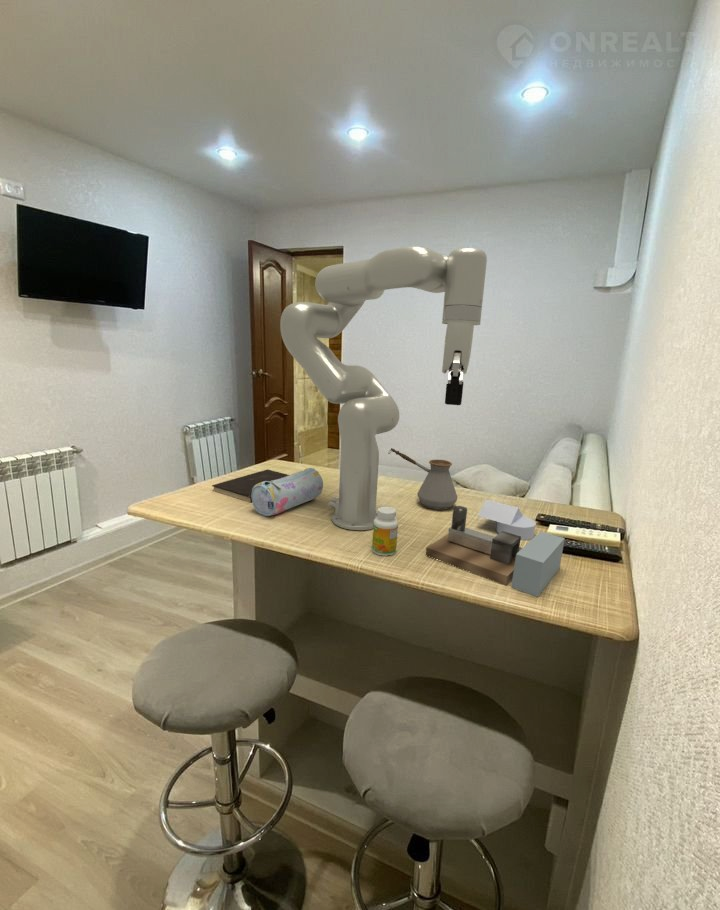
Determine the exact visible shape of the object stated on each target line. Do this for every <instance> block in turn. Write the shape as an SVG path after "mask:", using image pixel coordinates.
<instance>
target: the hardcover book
mask: <svg viewBox="0 0 720 910" xmlns="http://www.w3.org/2000/svg"><path fill="white" fill-rule="evenodd" d="M289 475H290V474H287V473H283V472H279V471H275V470H271V469H264V470H261V471H257V472H254V473H253V472H252V473H251V474H250V473H249V474H247V475H243V476H239V477H236V478H233V479H228V480H225V481H223V482H219V483H215V484H212V485H211V487H213V491H214V492H216V493H219V494H223V495H225V496H229V497H232V498H235V499H238V500H241V501H244V502H247V503H250V504H251V503H252V489H253V487H254V486H255V485H256V484H258V483H261V482H264V481H273V480H276V479H280V478H283V477H286V476H289ZM252 504H253V503H252Z"/></svg>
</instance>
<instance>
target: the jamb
mask: <svg viewBox="0 0 720 910" xmlns="http://www.w3.org/2000/svg"><path fill="white" fill-rule="evenodd" d="M565 539H566V538H565V537H562V536H559V535H555V534H551V533H547V532H544V531H539V532H538V533H537V534H536V535H534V537H533V538H532V539H530V540H529V541H528V543H526V544H525V546H523V547H521V548H522V549H521V550H520V551H519V552H518V553H517V554H516V558H515V565H514V572H513V579H512V580H511V585H510V586H511V588H512V589H515V590H517V591H520V592H523V593H525V594H528V595H531V596H533V597H537V598H538V597H540V595H541V593H542V592H543V591H544V589H546V588H547V586H548V584H549V583H550V582H551V580H552V579H553V578H554V576H556V573H558V571H559V570H560V569H561V568H560V567H561V562H562V557H563V550H564V545H565Z"/></svg>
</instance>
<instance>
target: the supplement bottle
mask: <svg viewBox="0 0 720 910" xmlns="http://www.w3.org/2000/svg"><path fill="white" fill-rule="evenodd" d="M376 513H377V516H378V517H376V518H375V519H374V524H373V529H372V539H371V541H372V542H371V543H372V544H371V550H372V552H373V553H374V554H375V555H378V556H381V555H382V557H389V556H388V555H390V556H392V555H395V554H396V552H397V546H398V545H397V543H398V532H399V531H398V529H399V521H398V520H397V518H396V516H397V509H395V508H394V507H390V506H381V507H378V509H377V510H376Z"/></svg>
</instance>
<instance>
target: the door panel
mask: <svg viewBox="0 0 720 910" xmlns="http://www.w3.org/2000/svg"><path fill="white" fill-rule="evenodd" d="M521 541H522V540H521V536H518V535H514V534H511V533H507V532H504V531H502V532H501V533H498V534H496V536H495V537H494V538H493V539H492V547H491V554H487V553H484V552H481V551H478V550H475V549H472V548H469V547H466V546H463V545H460V544H457V543H454V542H451V541H448V533H447V534H445V535H444V536H441V537H440V538H439V539H437V540H436V541H434V542H433V543H431V544H430V545H428V546H427V547H426V549H425V556H426V555H427V556H426V557H428V556H430V557H433V558H435V559H434V560H436V559H438V560H441V561H443V562H442V563H444V562H445V563H444V564H447V563H448V564H447V565H449V564H451V565H450V566H452V565H454V566H453V567H455V566H456V567H455V568H457V567H459V568H458V569H460V568H461V569H460V570H463V569H464V570H463V571H466V570H467V571H466V572H468V571H470V572H469V573H471V572H472V574H474V573H475V574H474V575H476V574H478V575H477V576H479V575H480V577H482V576H483V578H485V579H487V578H489V579H488V580H490V579H491V580H490V581H493V580H494V581H493V582H495V581H496V582H495V583H498V584H501V585H503V586H507V585H508V584H510V582H512V579H513V572H514V565H515V558H516V554H517V553H518V552H519V551H520V550H521V549H522V548H523V547H520V546H521ZM430 557H429V558H430ZM433 558H432V559H433ZM438 560H437V561H438ZM441 561H440V562H441Z"/></svg>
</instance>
